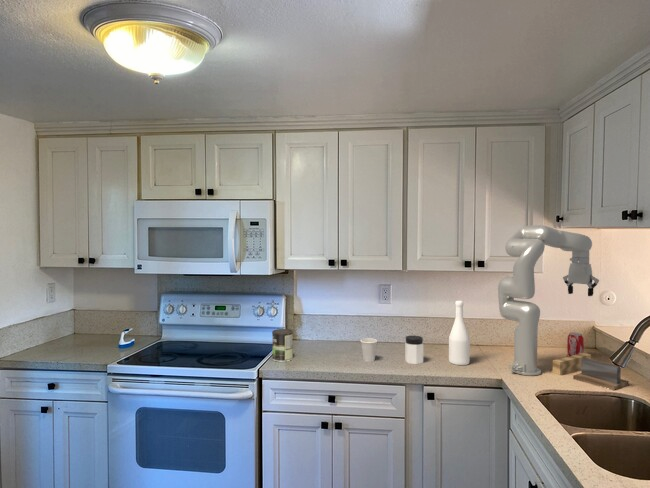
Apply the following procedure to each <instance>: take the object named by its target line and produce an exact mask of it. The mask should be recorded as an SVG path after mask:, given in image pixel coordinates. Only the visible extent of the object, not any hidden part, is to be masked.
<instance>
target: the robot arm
mask: <svg viewBox="0 0 650 488" xmlns="http://www.w3.org/2000/svg"><path fill="white" fill-rule="evenodd" d="M592 241H593V240H592V239H591V238H590V237H589V236H588V235H585V234H581V233H577V232H571V231H565V230H560V229H557V228H553V227H550V226H547V225H542V224H541V225H537V224H535V225H534V224H533V225H525V226H523V227H521V228H519V229H518V230H517V231H516V232H515V233H514V234H513V235H512V236H511V237H510V238H509V239H508V240H507V242H506V244H505V252H506V254H507V255H509V256H510V257H513V258H517V259H516V261H515V262H514V264H513V269H512V274H513V275H512V276H508V275H507V276H504V277H502V278H501V279H500V280H499V282H498V285H497V296H498V306H499V307H498V308H499V314H500V316H501V318H503V319H504V320H508V321H514V322H519V323H518V325H517V326H516V327H515V329H514V332H513V333H514V334H513V341H514V342H513V344H514V345H513V364H510V365H509V366H508V370H510V371H511V372H512V373H515V374H517V375H523V376H529V377H530V376H539V375H541V374H542V370H541V369H540V368H538V331H539V329H538V328H539V321H540V316H541V308H540V307H539V306H538V305H537V304H535V303H534V302H530V301H525V300H530V299H533V297H535V293H536V285H535V284H536V283H535V267H536V265H537V262H538V260H539V259H540V258H541V256H542V255H543V254H544V252H545V246H547V247H551V248H554V249H555V248H556V249H560V250H562V251H563V252H571V258H569V261H570V262H571V263H570V264H569V267H568V273H567V274H566V275H564V276H563V277H562V280H563V281H564V283H565V285H566V286H567V294H568V295H573V294H574V286H573V285H574V284H578V285H579V284H580V285H587V287H588V289H587V296H588V297H593V295H594V288H596V287H597V286H598V284H599V282H600V279H599V278H597V277H595V276H593V270H592V264H591V263H590V251H591V249H592V248H593V247H592V246H593V242H592ZM593 281H594V282H593ZM518 299H522V300H518Z"/></svg>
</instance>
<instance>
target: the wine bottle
mask: <svg viewBox="0 0 650 488" xmlns="http://www.w3.org/2000/svg"><path fill="white" fill-rule="evenodd" d="M454 303H455V317H454V321H453V324H452V328H451V331H450V333H449V337H448V361H449V363H450V364H451V365H455V366H466V365H469V364H470V361H471V360H470V359H471V358H470V351H471V350H470V349H471V348H470V344H471V343H470V341H471V340H470V336H469V332H468V330H467V327H466V324H465V320H464V309H463V307H464V301H463V300H455V302H454Z"/></svg>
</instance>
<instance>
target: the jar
mask: <svg viewBox="0 0 650 488" xmlns="http://www.w3.org/2000/svg"><path fill="white" fill-rule="evenodd" d="M423 339H424V337H422V336H420V335H407V336H405V343H404V348H405V349H404V354H405V355H404V359H405V362H406V364H409V365H410V364H411V365H419V364H424V343H423V342H424V340H423Z"/></svg>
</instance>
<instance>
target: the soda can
mask: <svg viewBox="0 0 650 488" xmlns="http://www.w3.org/2000/svg"><path fill="white" fill-rule="evenodd" d="M566 342H567V347H566V348H567V351H566V352H567V353H566V354H567V357H569V356H573V355H577V354H581V353H585V352H584V350H585V349H584V346H585V344H584V336H583V334H582V333H580V332H575V331H574V332H573V331H569V333H568V335H567V341H566Z"/></svg>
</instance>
